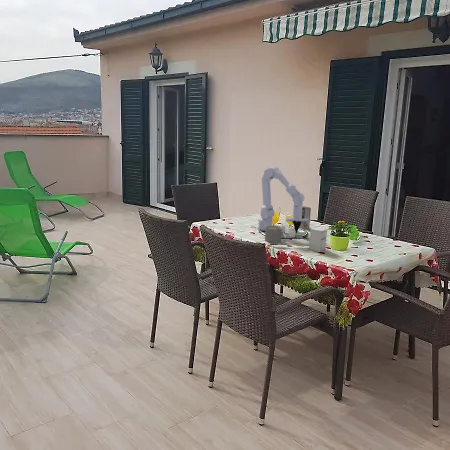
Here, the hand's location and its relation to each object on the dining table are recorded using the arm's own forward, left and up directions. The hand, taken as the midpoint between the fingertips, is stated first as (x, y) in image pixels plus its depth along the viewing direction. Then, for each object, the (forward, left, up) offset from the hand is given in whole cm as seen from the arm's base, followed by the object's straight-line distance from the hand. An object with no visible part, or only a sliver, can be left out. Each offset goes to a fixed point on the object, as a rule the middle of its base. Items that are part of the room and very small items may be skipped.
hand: (296, 232), depth 303 cm
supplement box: (+9, -31, -3) cm, 32 cm away
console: (-4, -1, -3) cm, 5 cm away
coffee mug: (-15, -18, -3) cm, 24 cm away
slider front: (-3, -7, -1) cm, 8 cm away
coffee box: (+8, +23, -3) cm, 25 cm away
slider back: (-8, +7, -1) cm, 11 cm away
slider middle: (-3, 0, -1) cm, 3 cm away
